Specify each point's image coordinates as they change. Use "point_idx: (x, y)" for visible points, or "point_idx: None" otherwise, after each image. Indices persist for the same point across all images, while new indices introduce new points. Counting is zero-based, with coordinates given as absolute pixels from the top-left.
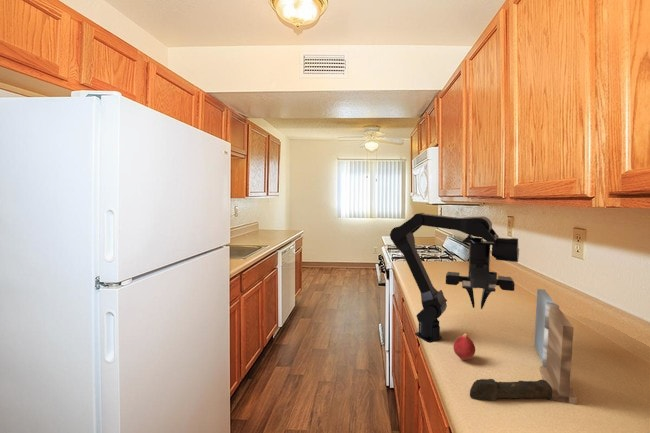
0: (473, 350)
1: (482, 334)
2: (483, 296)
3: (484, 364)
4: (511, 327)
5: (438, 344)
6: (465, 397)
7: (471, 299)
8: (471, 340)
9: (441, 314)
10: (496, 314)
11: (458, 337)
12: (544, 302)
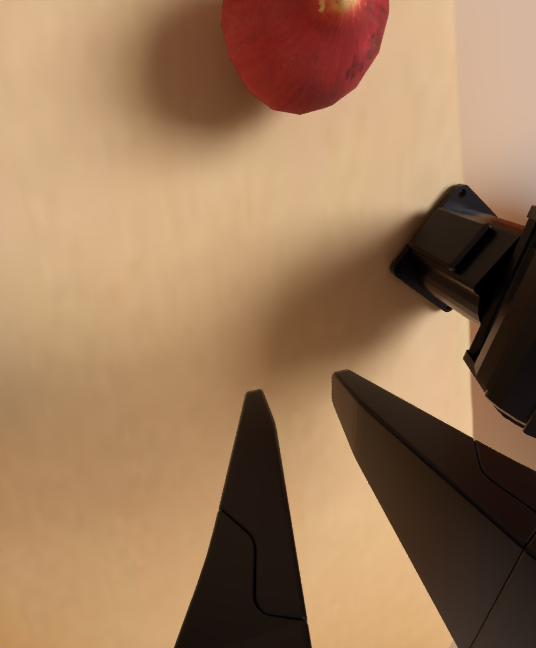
0: None
1: (219, 403)
2: (283, 554)
3: (152, 37)
4: (119, 519)
5: (409, 188)
6: None
7: (436, 428)
8: (269, 26)
9: (527, 273)
10: (193, 573)
11: (379, 17)
12: None
